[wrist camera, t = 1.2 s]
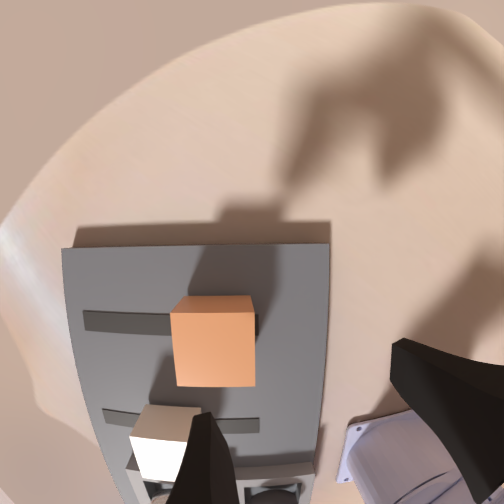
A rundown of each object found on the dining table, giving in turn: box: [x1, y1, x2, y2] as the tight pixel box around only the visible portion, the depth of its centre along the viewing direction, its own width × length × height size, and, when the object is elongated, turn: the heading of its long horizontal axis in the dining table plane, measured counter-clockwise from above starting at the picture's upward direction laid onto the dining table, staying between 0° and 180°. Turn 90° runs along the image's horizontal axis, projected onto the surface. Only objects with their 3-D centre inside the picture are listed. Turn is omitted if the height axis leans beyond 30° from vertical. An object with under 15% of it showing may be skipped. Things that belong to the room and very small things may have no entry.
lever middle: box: [129, 404, 202, 482], centre depth 16 cm, size 4×4×4 cm
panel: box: [61, 243, 329, 504], centre depth 18 cm, size 18×26×4 cm
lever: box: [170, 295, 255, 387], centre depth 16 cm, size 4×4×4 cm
